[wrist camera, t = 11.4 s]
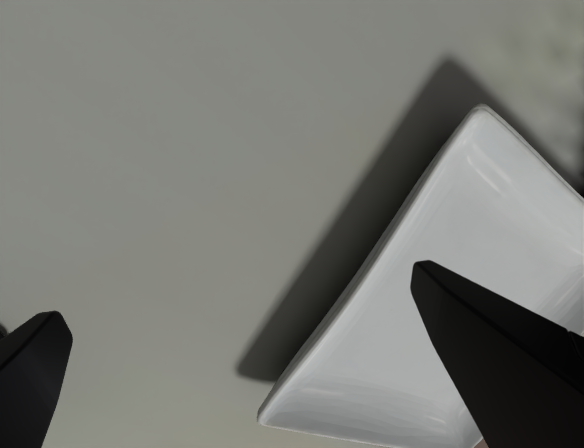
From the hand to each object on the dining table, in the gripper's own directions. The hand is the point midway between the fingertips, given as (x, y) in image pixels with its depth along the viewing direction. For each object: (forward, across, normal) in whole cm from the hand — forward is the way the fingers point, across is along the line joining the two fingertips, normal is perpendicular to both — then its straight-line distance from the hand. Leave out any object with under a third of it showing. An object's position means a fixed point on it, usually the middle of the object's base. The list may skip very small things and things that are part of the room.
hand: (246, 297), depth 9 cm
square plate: (+15, -16, +18) cm, 29 cm away
